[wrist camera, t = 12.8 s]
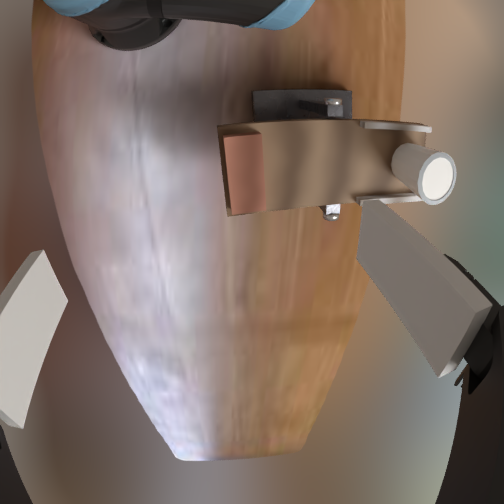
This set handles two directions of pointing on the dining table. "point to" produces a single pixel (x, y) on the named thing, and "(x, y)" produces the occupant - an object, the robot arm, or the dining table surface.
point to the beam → (313, 162)
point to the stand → (304, 113)
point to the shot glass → (424, 172)
